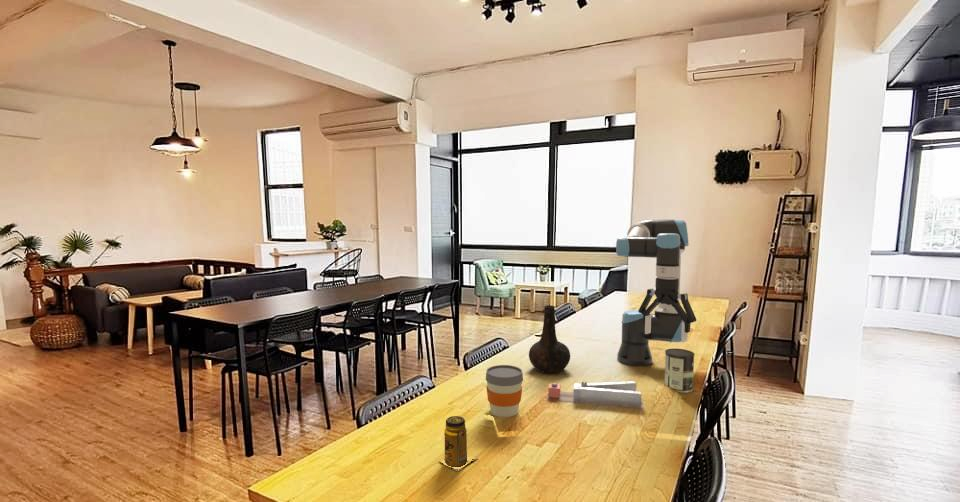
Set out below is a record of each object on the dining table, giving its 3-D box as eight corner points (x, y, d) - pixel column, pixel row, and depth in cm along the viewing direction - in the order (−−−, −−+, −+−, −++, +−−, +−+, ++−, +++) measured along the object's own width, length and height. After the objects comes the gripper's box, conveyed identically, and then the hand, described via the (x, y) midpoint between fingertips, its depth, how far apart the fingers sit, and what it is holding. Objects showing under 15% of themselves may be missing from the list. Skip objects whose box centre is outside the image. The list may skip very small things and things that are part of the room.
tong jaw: (580, 397, 162) (580, 381, 161) (633, 394, 164) (633, 379, 163) (582, 399, 160) (582, 383, 159) (636, 396, 162) (636, 381, 161)
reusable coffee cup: (526, 409, 155) (527, 366, 154) (517, 425, 144) (517, 379, 142) (492, 404, 159) (492, 363, 158) (480, 419, 148) (480, 375, 146)
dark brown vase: (552, 380, 182) (552, 312, 180) (520, 369, 195) (520, 305, 193) (578, 370, 194) (579, 306, 191) (546, 360, 207) (547, 300, 205)
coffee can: (689, 383, 178) (690, 348, 177) (696, 393, 168) (697, 357, 167) (661, 381, 180) (662, 347, 179) (667, 391, 170) (668, 355, 169)
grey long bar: (573, 396, 163) (574, 383, 162) (639, 402, 158) (639, 388, 157) (573, 402, 158) (573, 388, 157) (641, 408, 153) (641, 394, 152)
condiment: (438, 462, 122) (437, 420, 121) (459, 450, 129) (458, 409, 128) (457, 472, 118) (457, 428, 117) (478, 459, 124) (478, 417, 123)
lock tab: (549, 392, 166) (549, 381, 165) (560, 393, 165) (560, 382, 164) (548, 397, 162) (548, 385, 161) (559, 398, 161) (559, 386, 160)
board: (548, 393, 169) (548, 390, 169) (641, 401, 161) (641, 398, 161) (546, 403, 160) (546, 400, 160) (644, 412, 152) (644, 409, 152)
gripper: (629, 274, 164) (628, 331, 166) (697, 283, 145) (695, 347, 147) (640, 273, 169) (639, 328, 171) (708, 280, 149) (706, 343, 151)
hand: (665, 337), depth 159 cm, fingers open, 13 cm apart
